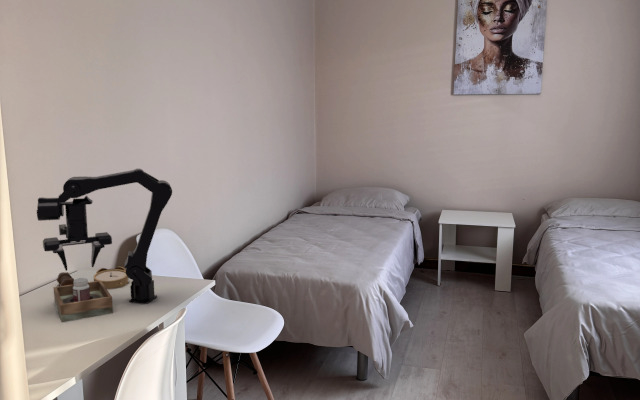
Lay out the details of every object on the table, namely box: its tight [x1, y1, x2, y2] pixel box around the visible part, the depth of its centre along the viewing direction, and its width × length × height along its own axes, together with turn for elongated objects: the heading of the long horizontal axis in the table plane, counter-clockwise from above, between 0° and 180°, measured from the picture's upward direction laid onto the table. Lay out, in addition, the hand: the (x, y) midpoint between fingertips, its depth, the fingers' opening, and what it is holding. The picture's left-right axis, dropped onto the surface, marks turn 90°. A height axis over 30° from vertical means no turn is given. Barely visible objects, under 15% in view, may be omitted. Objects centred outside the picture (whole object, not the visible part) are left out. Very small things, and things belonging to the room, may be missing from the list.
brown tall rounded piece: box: [56, 271, 75, 286], centre depth 182 cm, size 6×5×15 cm
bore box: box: [53, 280, 114, 323], centre depth 164 cm, size 14×18×5 cm
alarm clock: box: [93, 266, 129, 290], centre depth 188 cm, size 11×5×15 cm
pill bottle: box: [73, 277, 90, 302], centre depth 165 cm, size 5×5×8 cm
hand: (79, 268), depth 164 cm, fingers open, 7 cm apart
